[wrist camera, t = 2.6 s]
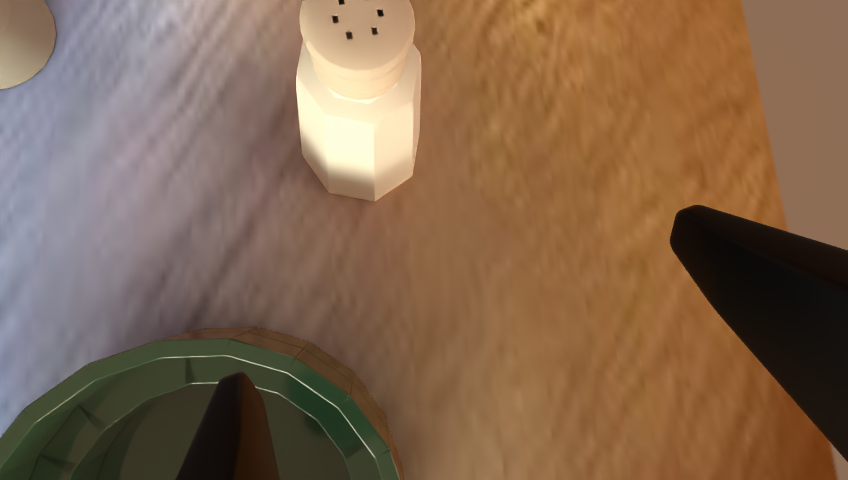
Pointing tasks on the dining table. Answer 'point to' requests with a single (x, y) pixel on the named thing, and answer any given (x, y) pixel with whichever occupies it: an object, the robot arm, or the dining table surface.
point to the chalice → (24, 40)
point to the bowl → (201, 412)
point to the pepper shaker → (359, 94)
